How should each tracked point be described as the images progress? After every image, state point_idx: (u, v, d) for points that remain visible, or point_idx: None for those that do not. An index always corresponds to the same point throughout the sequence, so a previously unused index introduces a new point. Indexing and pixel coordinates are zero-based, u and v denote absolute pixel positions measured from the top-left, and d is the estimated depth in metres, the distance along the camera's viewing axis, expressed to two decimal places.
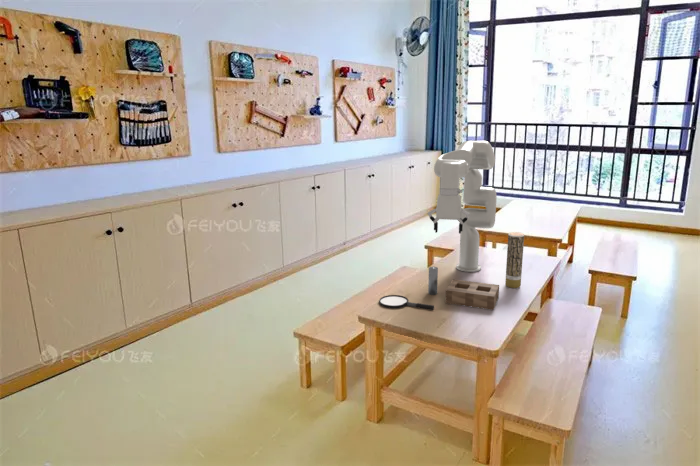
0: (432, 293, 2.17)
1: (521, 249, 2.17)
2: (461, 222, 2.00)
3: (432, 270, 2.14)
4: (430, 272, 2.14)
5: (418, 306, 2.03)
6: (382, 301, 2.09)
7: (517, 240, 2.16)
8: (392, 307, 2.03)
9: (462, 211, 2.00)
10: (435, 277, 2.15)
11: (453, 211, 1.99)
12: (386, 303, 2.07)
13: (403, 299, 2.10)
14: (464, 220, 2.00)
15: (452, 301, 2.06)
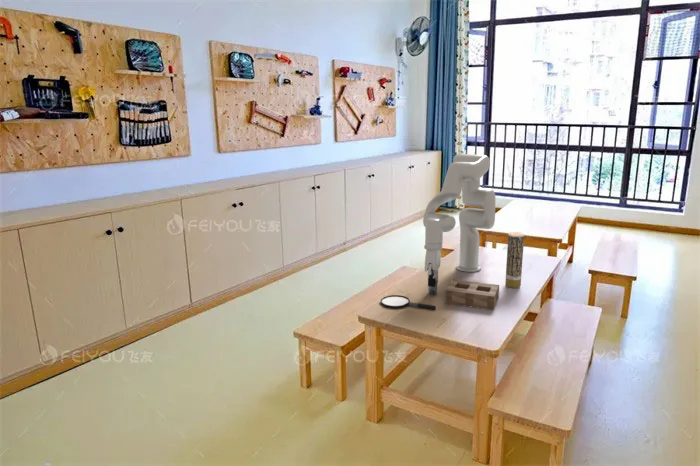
0: (432, 293, 2.17)
1: (521, 249, 2.17)
2: None
3: (432, 270, 2.14)
4: None
5: (420, 306, 2.03)
6: (384, 301, 2.09)
7: (517, 240, 2.16)
8: (394, 307, 2.03)
9: None
10: (435, 277, 2.15)
11: (439, 261, 2.16)
12: (388, 303, 2.07)
13: (405, 299, 2.10)
14: None
15: (452, 301, 2.06)
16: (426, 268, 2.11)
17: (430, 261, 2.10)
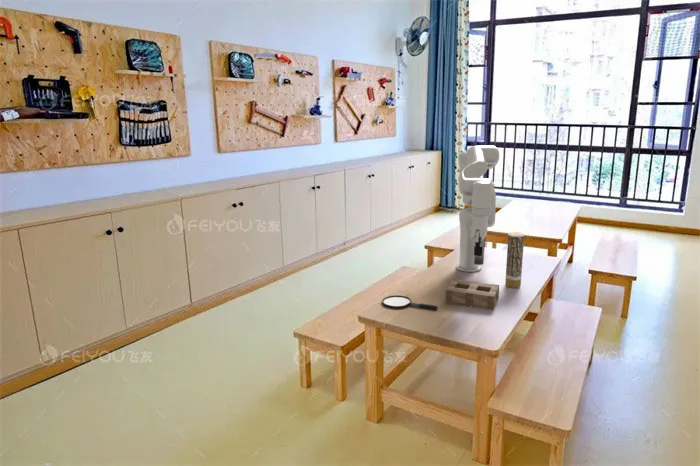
0: (478, 263, 2.02)
1: (521, 249, 2.17)
2: None
3: (479, 238, 2.00)
4: None
5: (421, 306, 2.02)
6: (385, 302, 2.09)
7: (517, 240, 2.16)
8: (395, 308, 2.02)
9: None
10: (482, 245, 2.01)
11: (486, 228, 2.02)
12: (389, 304, 2.06)
13: (406, 299, 2.10)
14: None
15: (452, 301, 2.06)
16: (473, 235, 1.98)
17: (478, 227, 1.96)
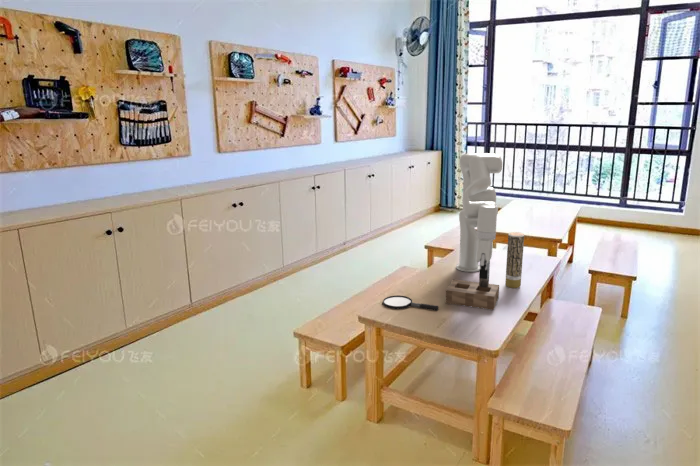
0: (483, 286, 2.04)
1: (521, 249, 2.17)
2: None
3: None
4: None
5: (422, 306, 2.02)
6: (386, 302, 2.08)
7: (517, 240, 2.16)
8: (396, 308, 2.02)
9: None
10: (487, 268, 2.02)
11: None
12: (390, 304, 2.06)
13: (407, 299, 2.10)
14: None
15: (452, 301, 2.06)
16: (478, 259, 1.99)
17: (483, 251, 1.97)
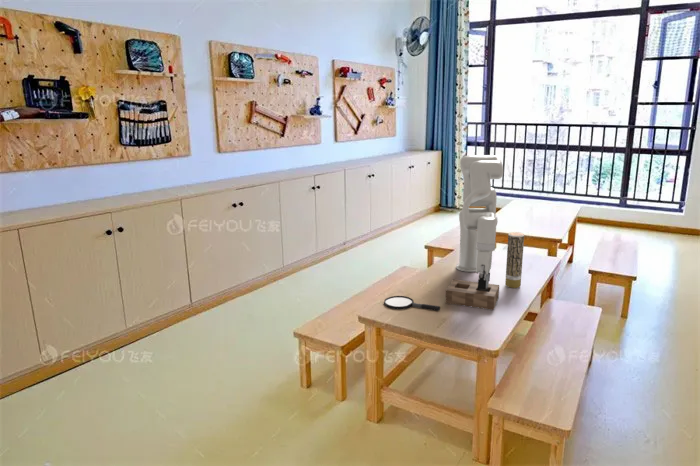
0: None
1: (521, 249, 2.17)
2: (489, 270, 2.09)
3: None
4: None
5: (423, 307, 2.02)
6: (387, 302, 2.08)
7: (517, 240, 2.16)
8: (397, 308, 2.02)
9: None
10: (486, 283, 2.04)
11: (491, 262, 2.04)
12: (391, 304, 2.06)
13: (408, 300, 2.10)
14: None
15: (452, 301, 2.06)
16: (478, 270, 2.00)
17: (482, 262, 1.98)
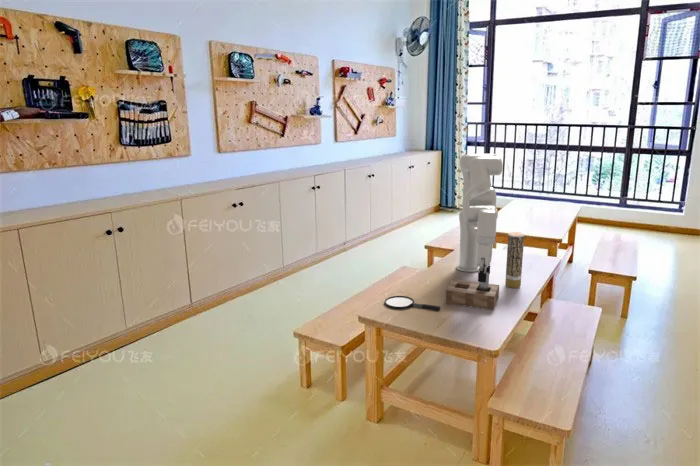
0: None
1: (521, 249, 2.17)
2: None
3: None
4: None
5: (424, 307, 2.02)
6: (388, 302, 2.08)
7: (517, 240, 2.16)
8: (398, 308, 2.02)
9: None
10: (486, 283, 2.04)
11: (491, 255, 2.04)
12: (392, 304, 2.06)
13: (409, 300, 2.10)
14: None
15: (452, 301, 2.06)
16: (478, 263, 1.99)
17: (483, 256, 1.98)
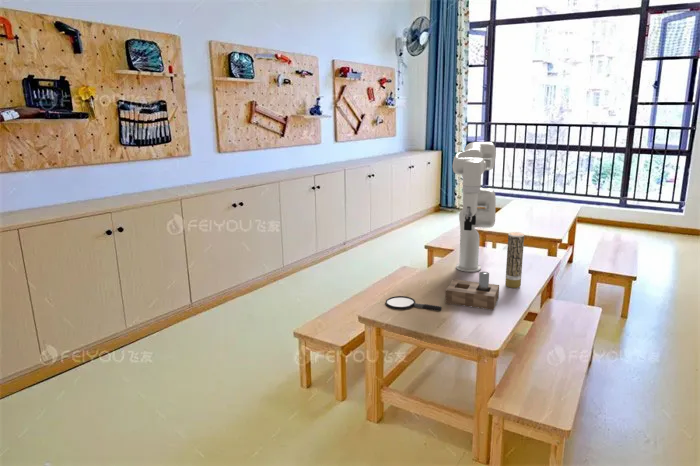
0: None
1: (521, 249, 2.17)
2: (475, 214, 2.17)
3: (483, 275, 2.03)
4: (481, 278, 2.03)
5: (425, 307, 2.02)
6: (389, 302, 2.08)
7: (517, 240, 2.16)
8: (399, 308, 2.02)
9: None
10: (486, 283, 2.04)
11: None
12: (393, 304, 2.06)
13: (410, 300, 2.09)
14: None
15: (452, 301, 2.06)
16: (464, 212, 2.08)
17: (468, 204, 2.06)
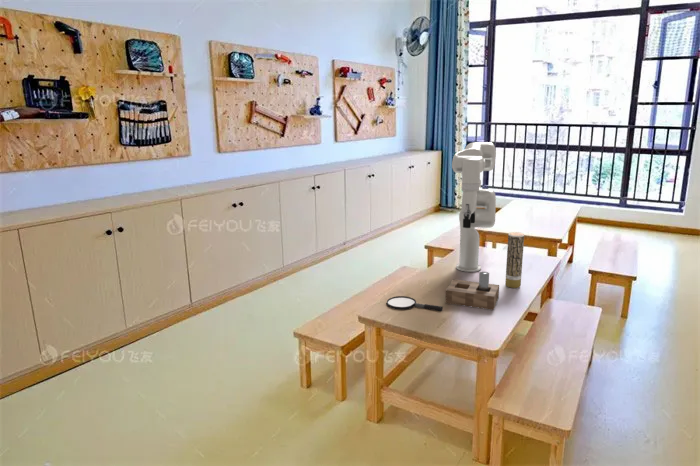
0: None
1: (521, 249, 2.17)
2: (474, 212, 2.17)
3: (483, 275, 2.03)
4: (481, 278, 2.03)
5: (426, 307, 2.02)
6: (390, 302, 2.08)
7: (517, 240, 2.16)
8: (400, 308, 2.02)
9: None
10: (486, 283, 2.04)
11: (476, 203, 2.13)
12: (394, 304, 2.05)
13: (411, 300, 2.09)
14: None
15: (452, 301, 2.06)
16: (463, 209, 2.09)
17: (467, 202, 2.07)
